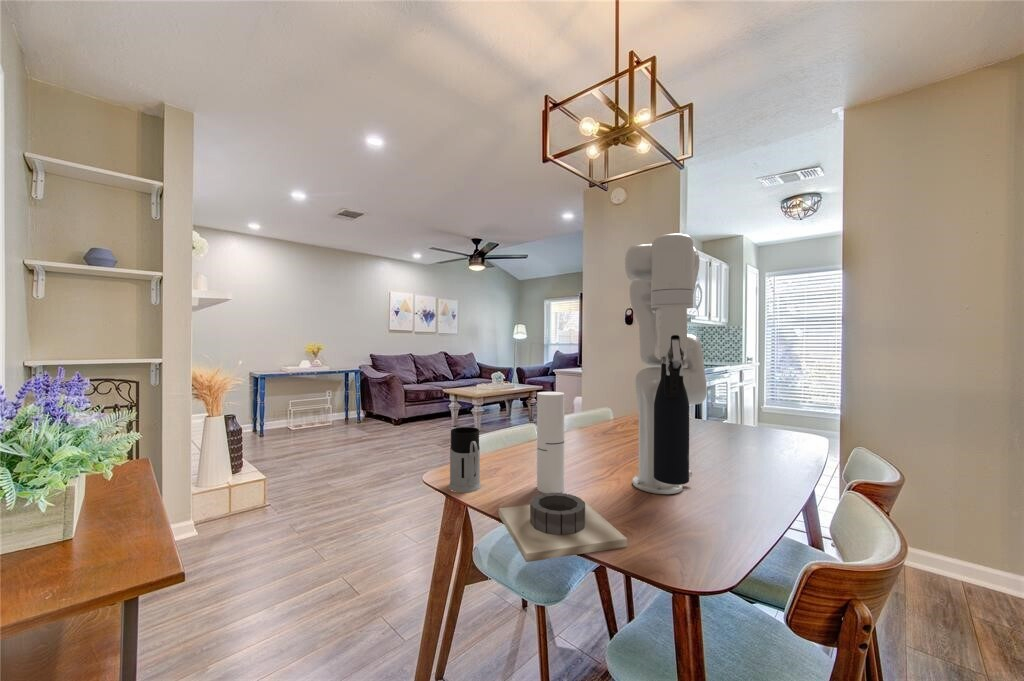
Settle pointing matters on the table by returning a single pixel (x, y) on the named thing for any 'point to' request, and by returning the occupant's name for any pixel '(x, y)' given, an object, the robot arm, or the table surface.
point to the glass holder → (464, 460)
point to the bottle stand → (559, 528)
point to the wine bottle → (671, 435)
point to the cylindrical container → (550, 442)
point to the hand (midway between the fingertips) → (671, 393)
